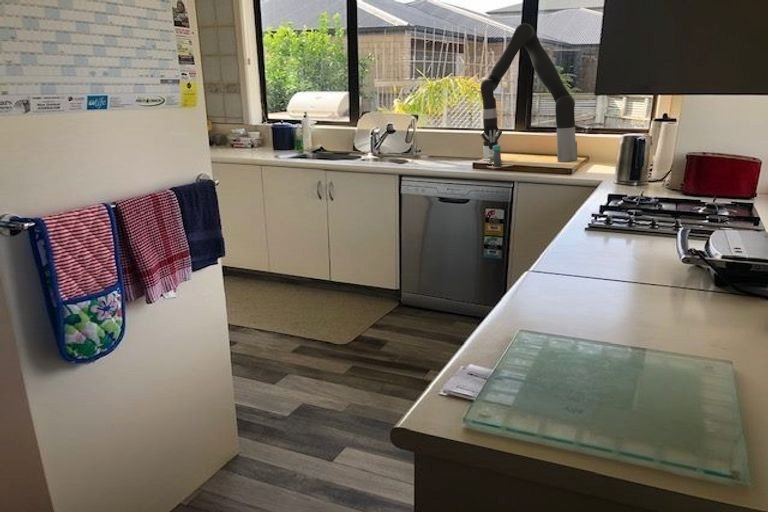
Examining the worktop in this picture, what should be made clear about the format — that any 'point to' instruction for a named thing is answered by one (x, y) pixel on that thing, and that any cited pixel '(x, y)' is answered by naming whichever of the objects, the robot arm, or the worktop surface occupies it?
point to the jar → (487, 150)
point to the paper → (499, 166)
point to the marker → (497, 155)
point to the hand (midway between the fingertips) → (491, 149)
